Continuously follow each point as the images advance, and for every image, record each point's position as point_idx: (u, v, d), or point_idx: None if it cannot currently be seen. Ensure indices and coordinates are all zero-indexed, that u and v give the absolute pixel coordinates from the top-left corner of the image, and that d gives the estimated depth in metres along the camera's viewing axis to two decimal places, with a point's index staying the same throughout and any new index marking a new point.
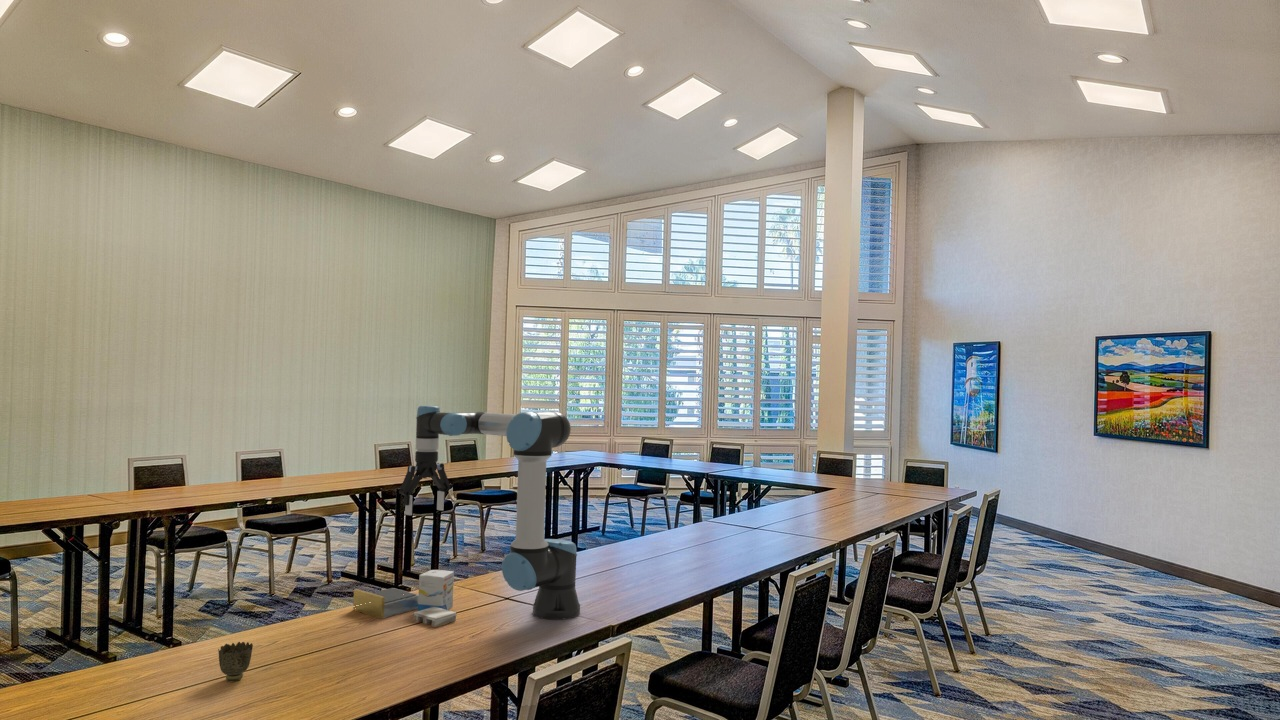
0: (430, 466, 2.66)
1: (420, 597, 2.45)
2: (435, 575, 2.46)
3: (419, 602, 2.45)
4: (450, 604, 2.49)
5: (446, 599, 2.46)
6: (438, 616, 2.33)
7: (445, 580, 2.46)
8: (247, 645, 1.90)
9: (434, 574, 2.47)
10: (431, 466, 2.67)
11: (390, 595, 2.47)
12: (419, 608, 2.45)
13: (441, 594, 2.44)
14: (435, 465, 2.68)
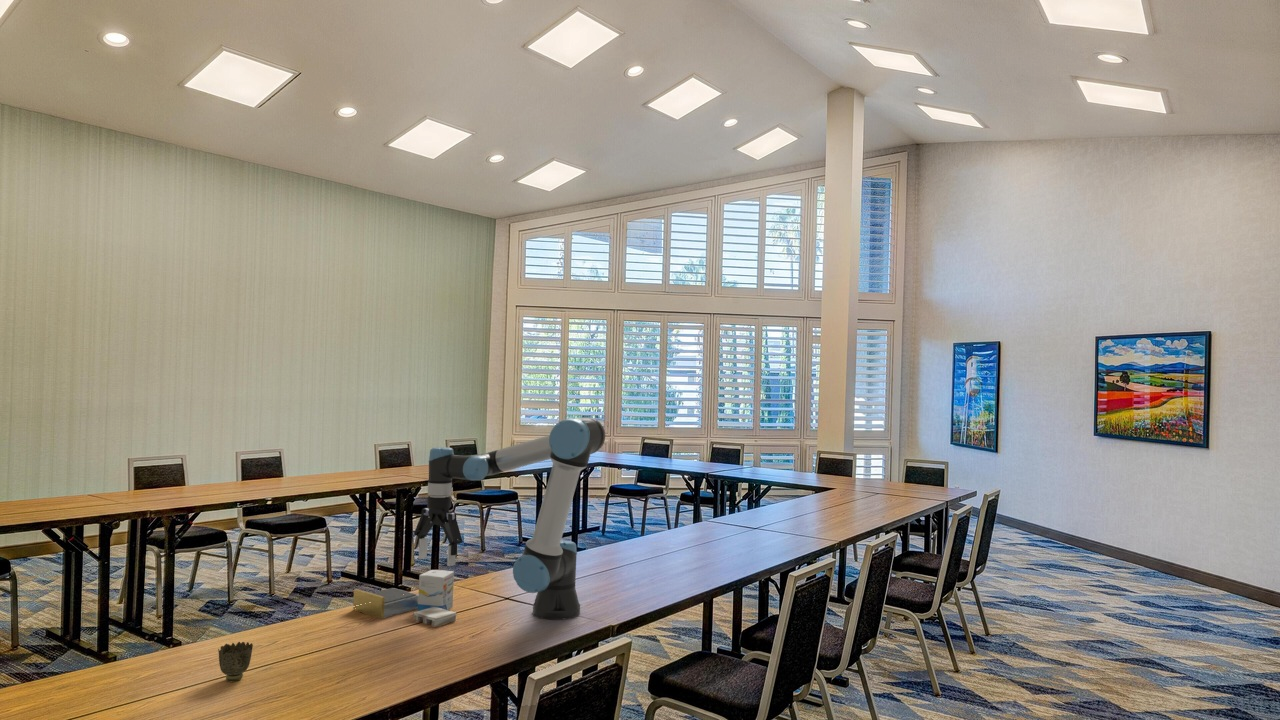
0: (437, 513, 2.48)
1: (420, 597, 2.45)
2: (435, 575, 2.46)
3: (419, 602, 2.45)
4: (449, 604, 2.49)
5: (446, 599, 2.46)
6: (438, 616, 2.33)
7: (445, 580, 2.46)
8: (247, 645, 1.90)
9: (434, 574, 2.47)
10: (438, 513, 2.47)
11: (390, 595, 2.47)
12: (419, 608, 2.45)
13: (441, 594, 2.44)
14: (442, 513, 2.47)
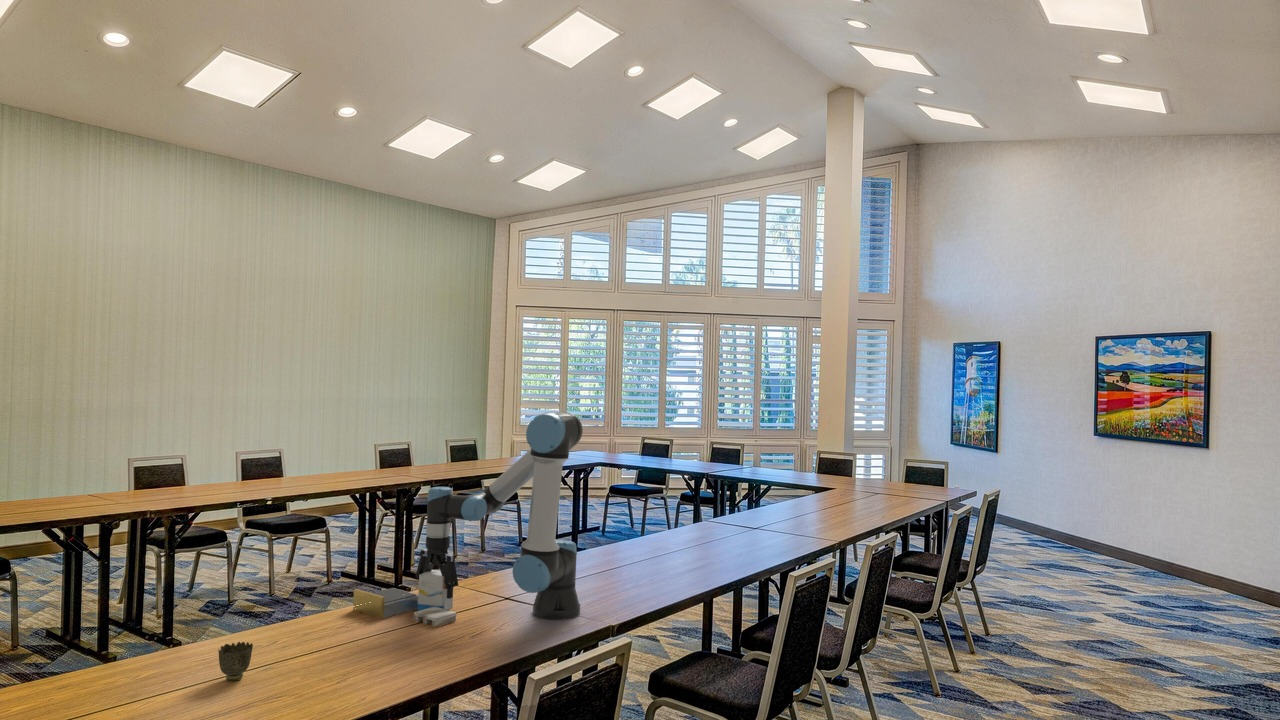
0: (436, 552, 2.47)
1: (420, 597, 2.45)
2: (435, 575, 2.46)
3: (419, 602, 2.45)
4: None
5: None
6: (438, 616, 2.33)
7: None
8: (247, 645, 1.90)
9: (434, 574, 2.47)
10: (437, 554, 2.47)
11: (390, 595, 2.47)
12: (419, 608, 2.45)
13: (441, 594, 2.44)
14: (441, 554, 2.46)
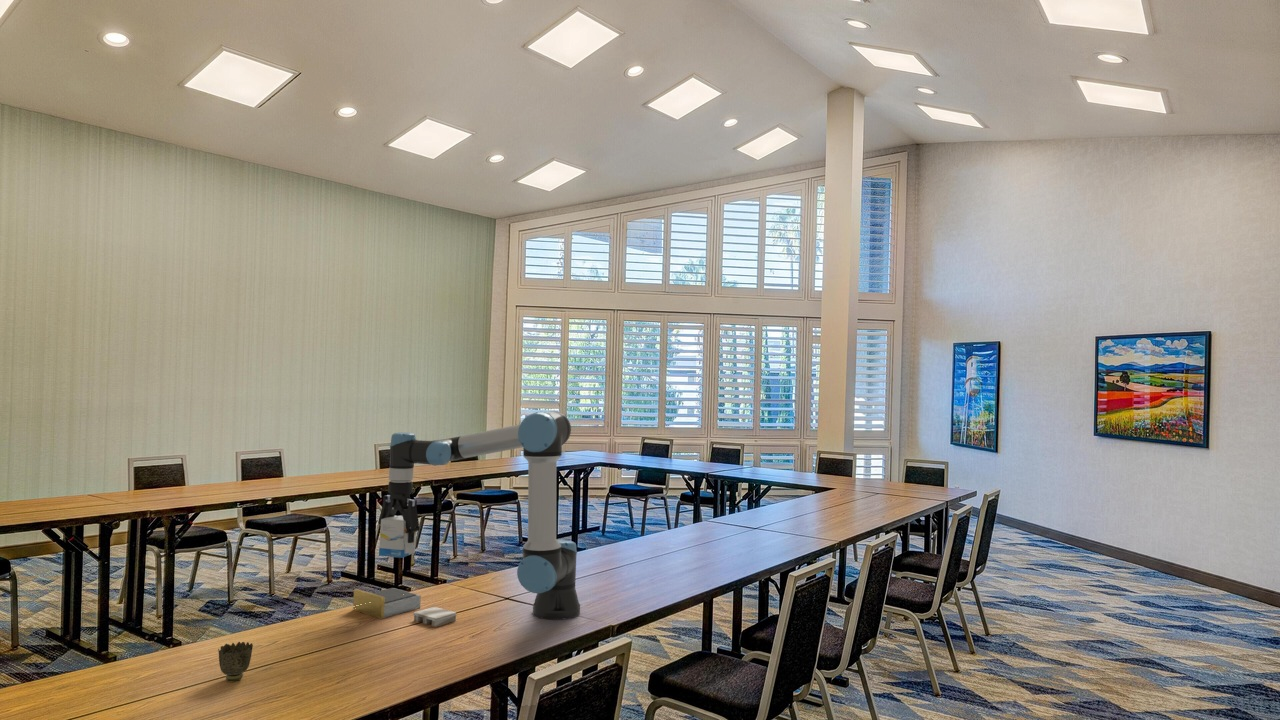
0: (399, 497, 2.47)
1: (381, 541, 2.45)
2: (397, 519, 2.46)
3: (380, 546, 2.45)
4: None
5: None
6: (438, 616, 2.33)
7: None
8: (247, 645, 1.90)
9: (396, 519, 2.47)
10: (400, 498, 2.47)
11: (390, 595, 2.47)
12: (380, 552, 2.45)
13: (402, 538, 2.44)
14: (403, 498, 2.46)
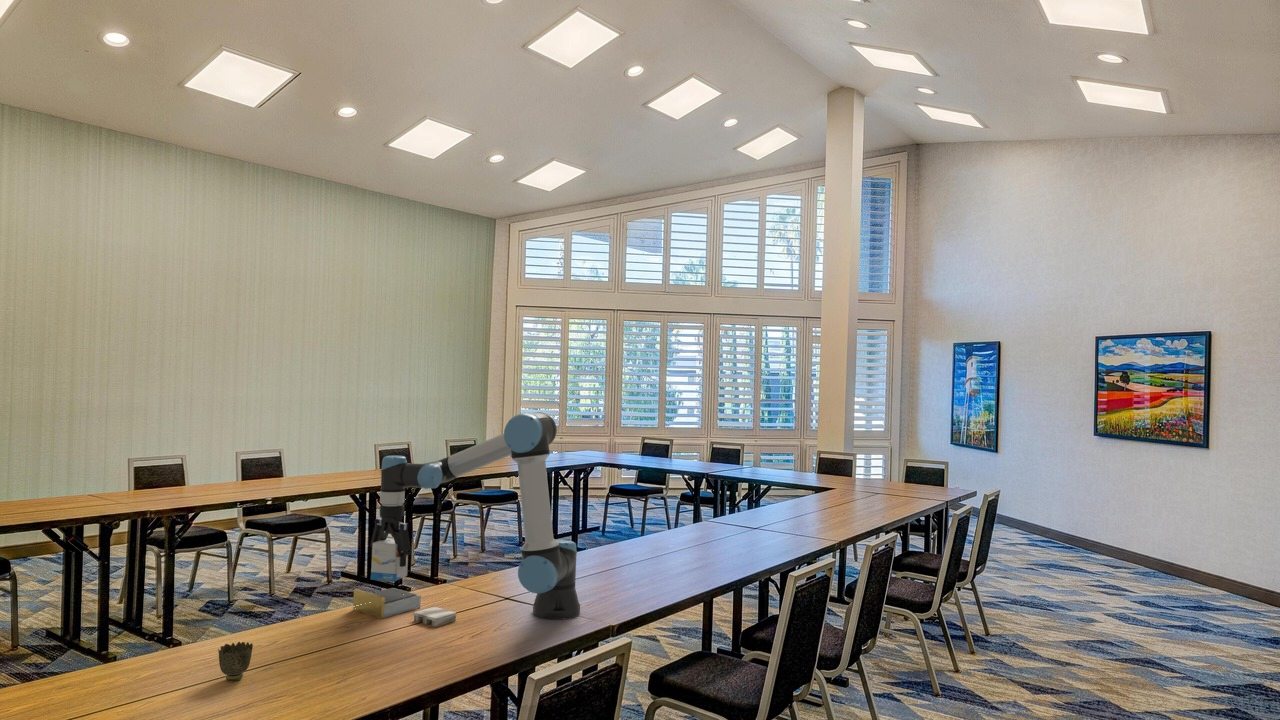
0: (390, 520, 2.47)
1: (373, 565, 2.45)
2: (388, 543, 2.45)
3: (372, 570, 2.45)
4: None
5: None
6: (438, 616, 2.33)
7: None
8: (247, 645, 1.90)
9: (387, 542, 2.46)
10: (391, 522, 2.47)
11: (390, 595, 2.47)
12: (372, 576, 2.45)
13: (394, 562, 2.43)
14: (395, 522, 2.46)
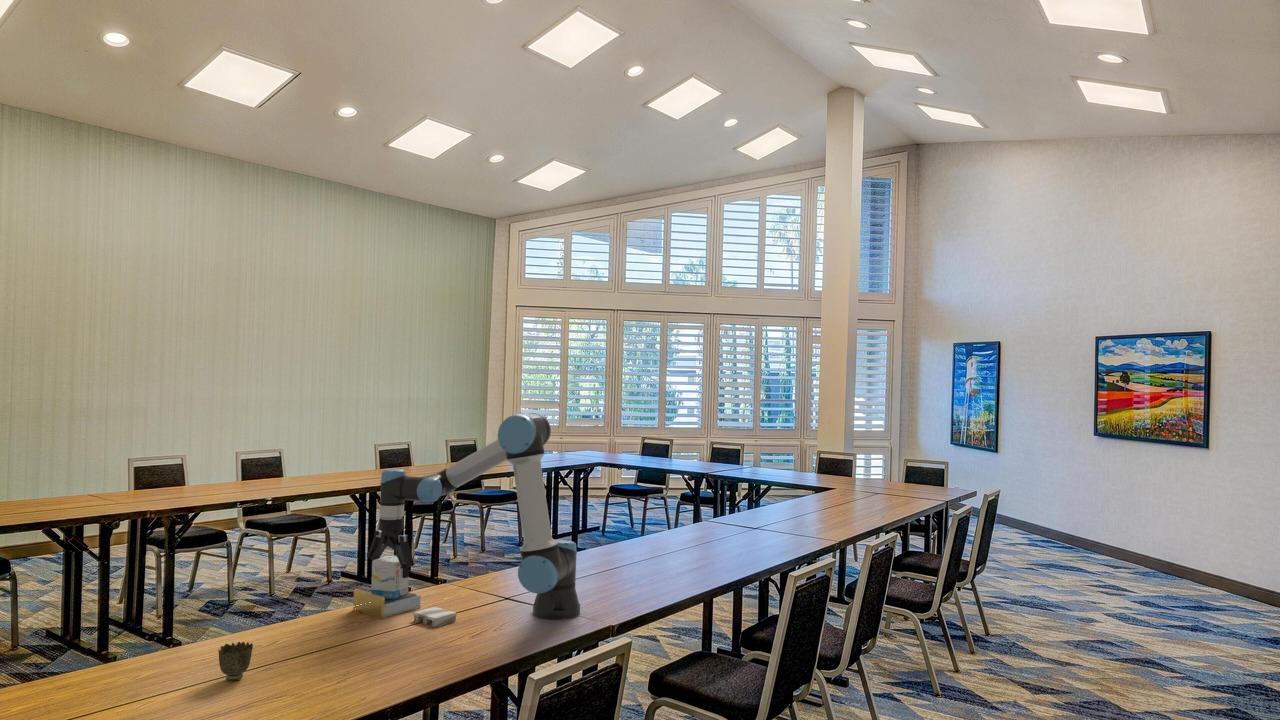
0: (389, 535, 2.47)
1: (373, 582, 2.45)
2: (388, 560, 2.45)
3: (372, 587, 2.45)
4: (404, 590, 2.48)
5: None
6: (438, 616, 2.33)
7: (398, 565, 2.45)
8: (247, 645, 1.90)
9: (388, 559, 2.46)
10: (390, 535, 2.47)
11: None
12: (372, 593, 2.44)
13: (393, 579, 2.43)
14: (394, 535, 2.46)
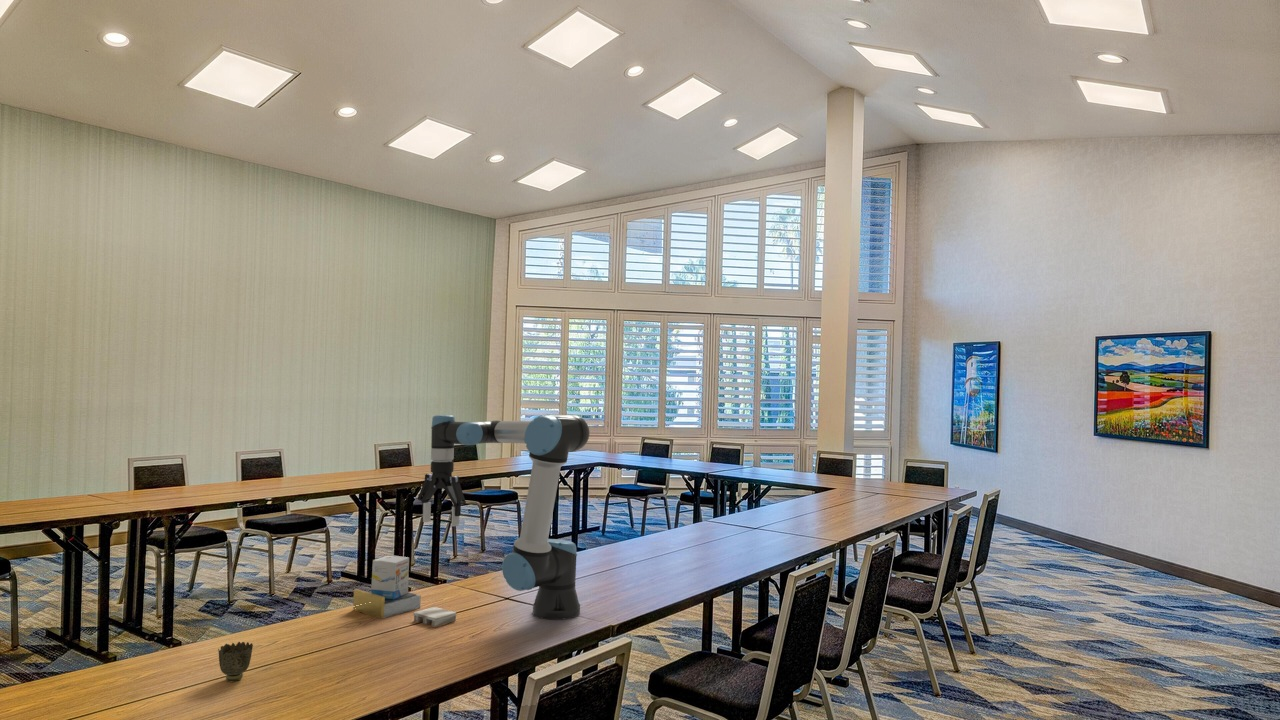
0: (441, 477, 2.60)
1: (373, 582, 2.45)
2: (388, 560, 2.45)
3: (372, 587, 2.45)
4: (404, 590, 2.48)
5: (399, 585, 2.46)
6: (438, 616, 2.33)
7: (398, 565, 2.45)
8: (247, 645, 1.90)
9: (388, 559, 2.46)
10: (442, 477, 2.60)
11: None
12: (372, 593, 2.44)
13: (393, 579, 2.43)
14: (446, 477, 2.59)
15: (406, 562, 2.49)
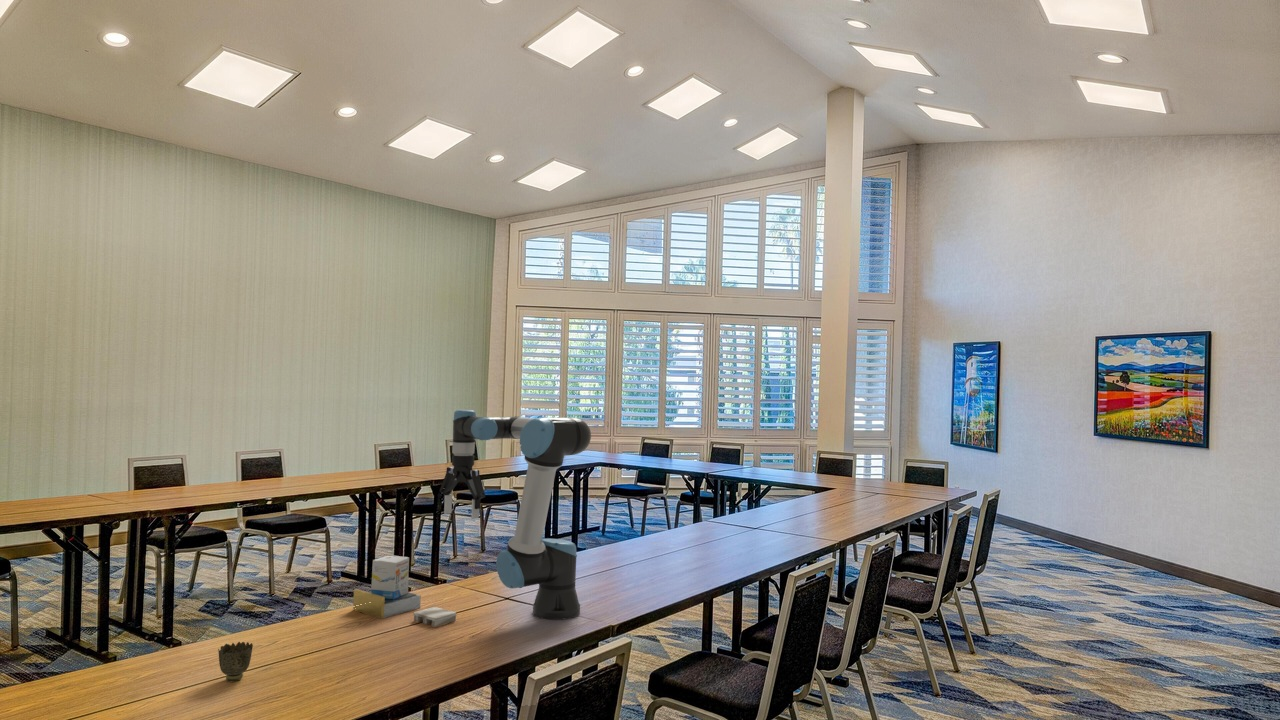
0: (462, 470, 2.67)
1: (373, 582, 2.45)
2: (388, 560, 2.45)
3: (372, 587, 2.45)
4: (404, 590, 2.48)
5: (399, 585, 2.46)
6: (438, 616, 2.33)
7: (398, 565, 2.45)
8: (247, 645, 1.90)
9: (388, 559, 2.46)
10: (462, 470, 2.66)
11: None
12: (372, 593, 2.44)
13: (393, 579, 2.43)
14: (466, 470, 2.65)
15: (406, 562, 2.49)
